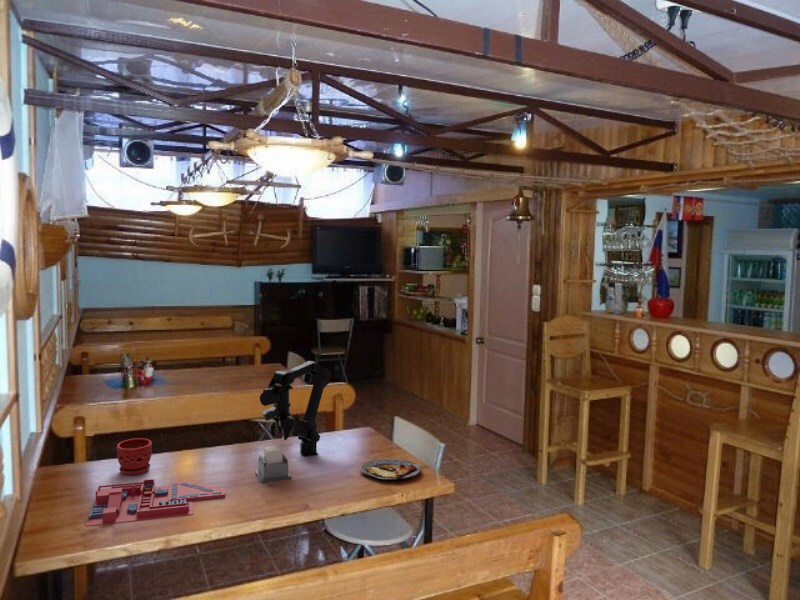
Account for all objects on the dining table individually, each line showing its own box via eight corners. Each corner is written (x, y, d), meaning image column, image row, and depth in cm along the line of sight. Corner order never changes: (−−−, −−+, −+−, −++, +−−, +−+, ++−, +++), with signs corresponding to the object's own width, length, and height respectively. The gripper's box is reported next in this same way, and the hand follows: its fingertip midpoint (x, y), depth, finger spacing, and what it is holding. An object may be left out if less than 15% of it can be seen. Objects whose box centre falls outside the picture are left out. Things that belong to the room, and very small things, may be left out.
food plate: (431, 473, 255) (431, 464, 255) (393, 488, 238) (393, 479, 238) (388, 459, 272) (388, 452, 272) (349, 473, 255) (349, 465, 255)
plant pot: (112, 470, 251) (112, 442, 250) (145, 463, 260) (145, 436, 259) (123, 480, 241) (122, 450, 240) (156, 472, 250) (156, 443, 249)
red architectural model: (228, 511, 216) (228, 495, 215) (85, 529, 200) (85, 512, 200) (222, 480, 244) (222, 466, 244) (96, 494, 229) (96, 479, 228)
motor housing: (282, 467, 259) (283, 449, 258) (291, 478, 246) (291, 460, 246) (254, 471, 254) (254, 453, 253) (261, 482, 241) (261, 464, 241)
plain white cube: (278, 457, 253) (278, 445, 252) (282, 462, 247) (282, 449, 247) (264, 459, 250) (264, 447, 250) (267, 463, 245) (267, 451, 244)
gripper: (258, 397, 266) (259, 432, 267) (268, 408, 249) (269, 445, 251) (283, 395, 271) (284, 429, 272) (295, 405, 254) (295, 442, 255)
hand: (282, 436), depth 262 cm, fingers open, 9 cm apart
